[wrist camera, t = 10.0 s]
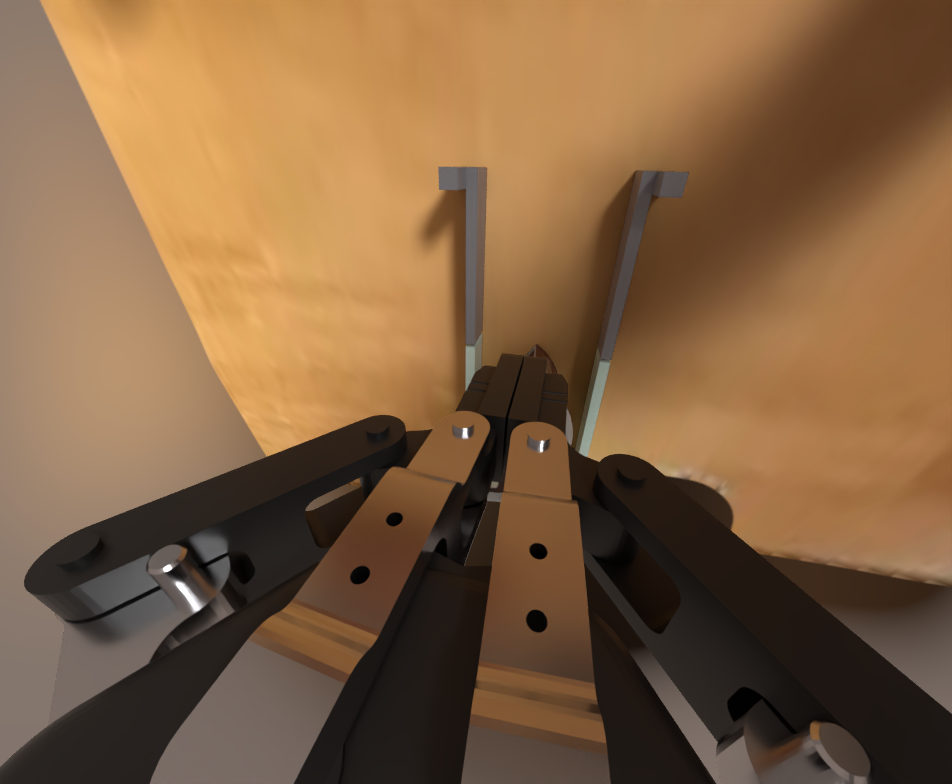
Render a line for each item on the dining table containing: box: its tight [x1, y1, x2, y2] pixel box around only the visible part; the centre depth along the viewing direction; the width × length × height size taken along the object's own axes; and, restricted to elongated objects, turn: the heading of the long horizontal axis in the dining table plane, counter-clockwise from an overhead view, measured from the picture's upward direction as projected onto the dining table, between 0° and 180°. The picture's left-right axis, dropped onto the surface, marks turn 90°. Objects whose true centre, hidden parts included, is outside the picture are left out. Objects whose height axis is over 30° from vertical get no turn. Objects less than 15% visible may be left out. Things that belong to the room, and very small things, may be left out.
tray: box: [466, 334, 610, 457], centre depth 34 cm, size 12×15×3 cm
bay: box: [439, 167, 689, 360], centre depth 26 cm, size 14×12×5 cm
